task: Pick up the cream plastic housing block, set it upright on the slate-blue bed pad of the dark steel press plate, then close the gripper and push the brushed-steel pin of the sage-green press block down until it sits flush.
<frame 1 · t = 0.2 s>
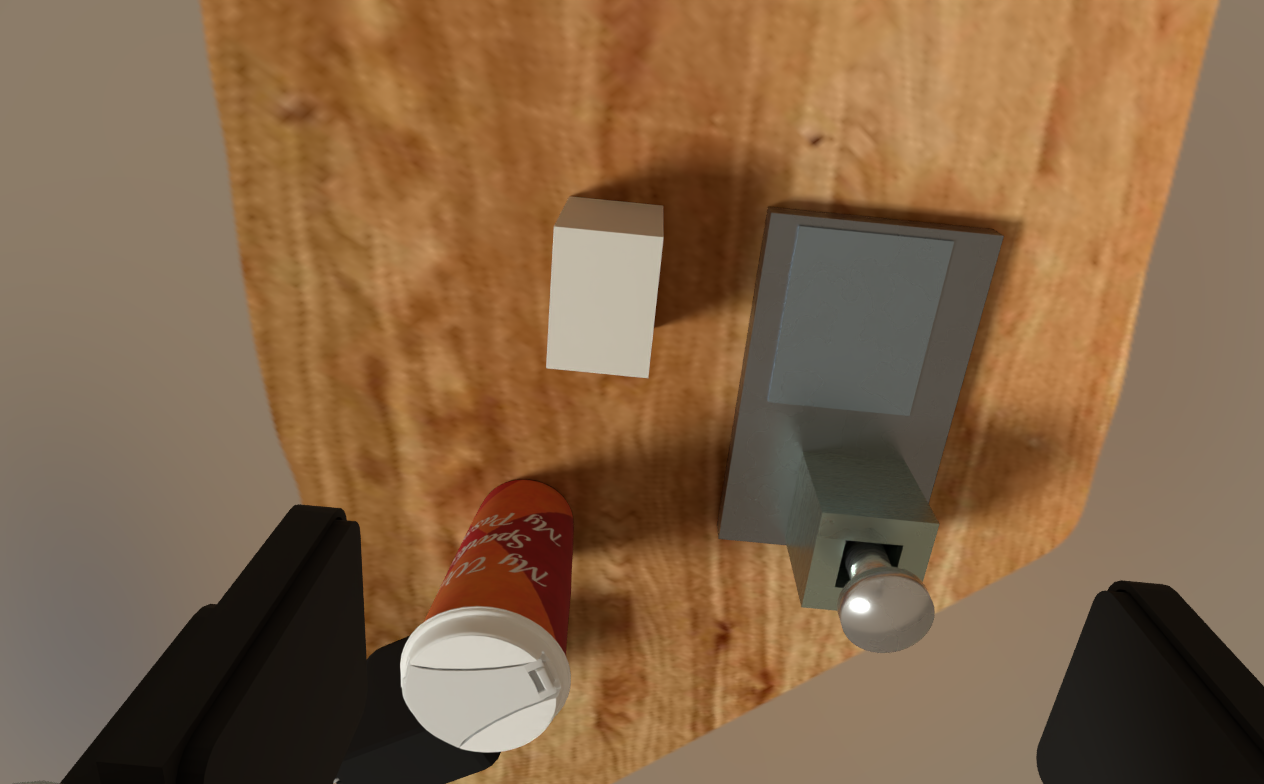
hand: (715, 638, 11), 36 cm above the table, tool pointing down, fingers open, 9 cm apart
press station: (843, 389, 48), on the table
housing: (610, 264, 46), on the table
coffee cup: (526, 518, 53), on the table
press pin: (873, 578, 43), point 9 cm above the table, slide at 0.0 cm
electronic device: (447, 646, 57), on the table
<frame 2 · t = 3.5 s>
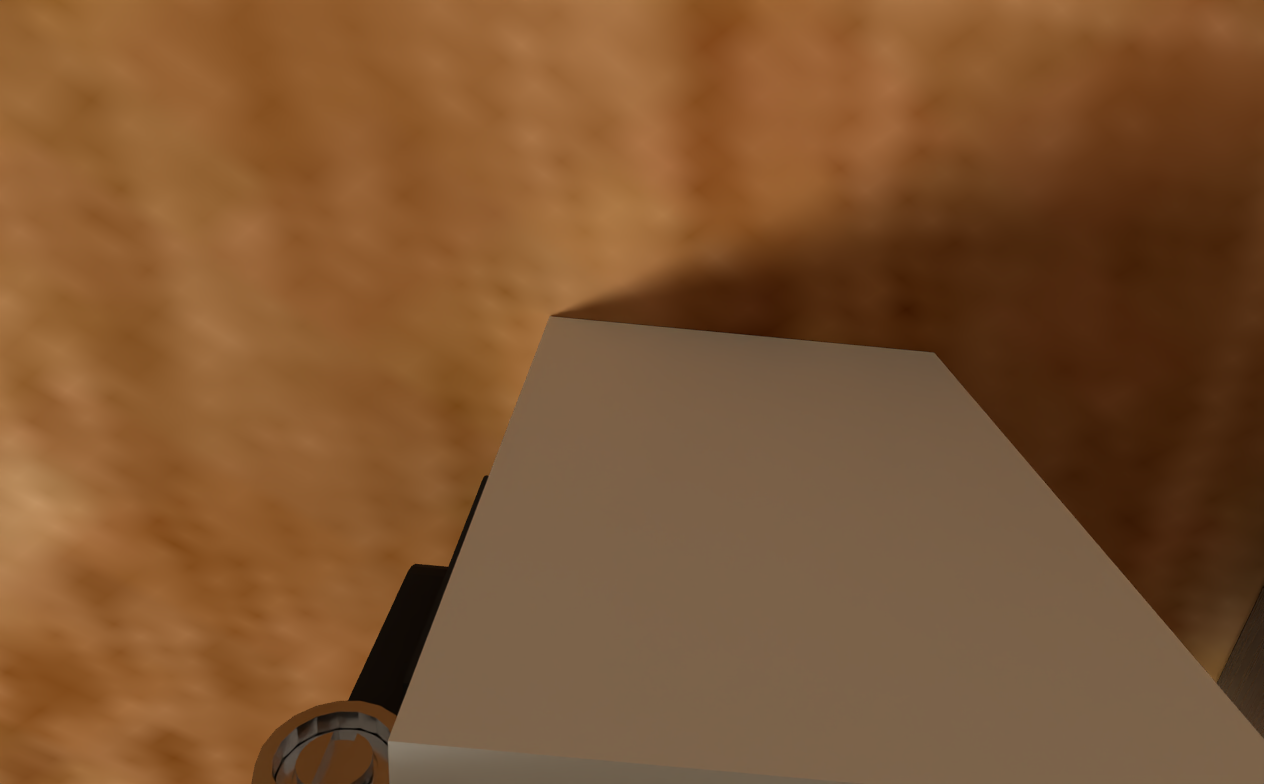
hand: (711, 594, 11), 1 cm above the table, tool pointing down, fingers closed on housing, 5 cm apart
housing: (708, 559, 12), on the table, touching gripper
when the fingers open (4 cm above the table, at t = 9.2 s): housing drops 1 cm, resting on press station.
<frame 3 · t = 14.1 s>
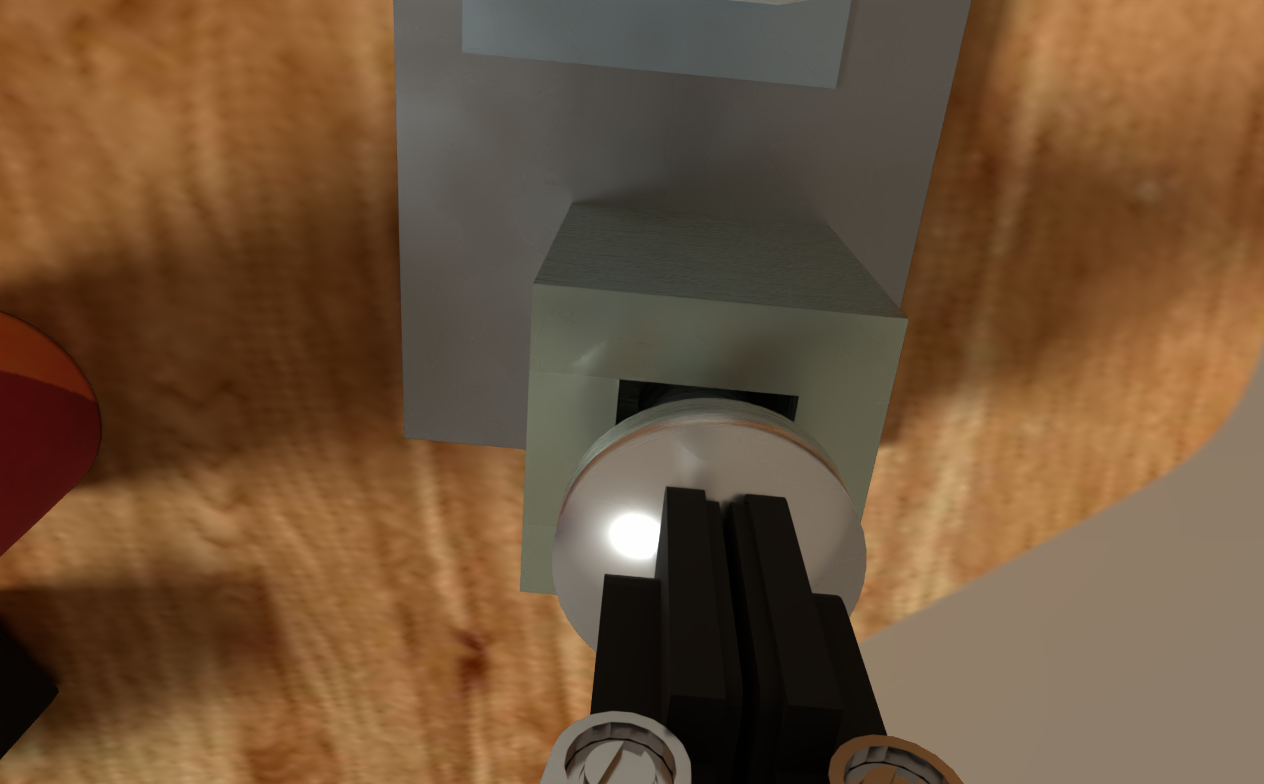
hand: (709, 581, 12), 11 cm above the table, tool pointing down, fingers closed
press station: (673, 45, 19), on the table
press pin: (698, 466, 14), point 8 cm above the table, slide at 1.0 cm, touching gripper
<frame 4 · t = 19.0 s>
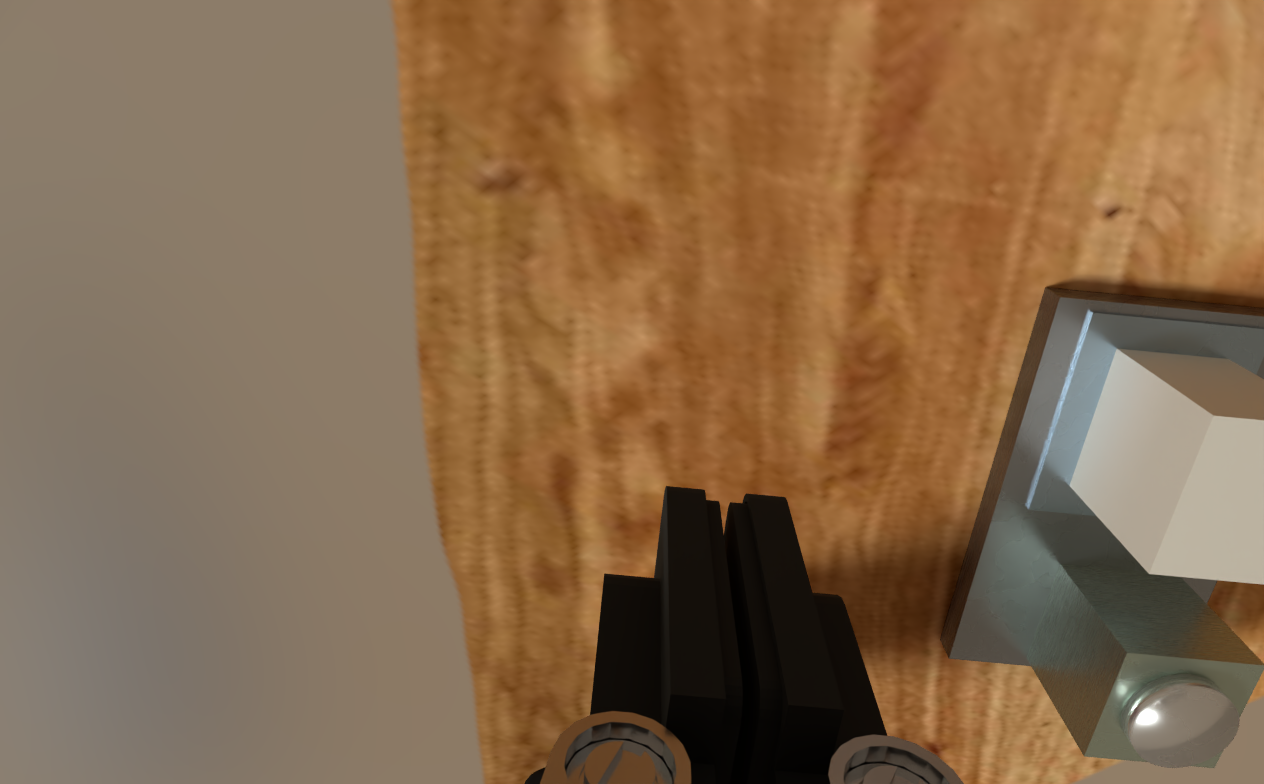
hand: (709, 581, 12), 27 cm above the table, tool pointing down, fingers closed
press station: (1106, 491, 42), on the table
housing: (1146, 424, 38), point 2 cm above the table, touching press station
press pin: (1147, 680, 39), point 6 cm above the table, slide at 3.0 cm
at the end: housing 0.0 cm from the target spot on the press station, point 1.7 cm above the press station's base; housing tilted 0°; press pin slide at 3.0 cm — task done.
